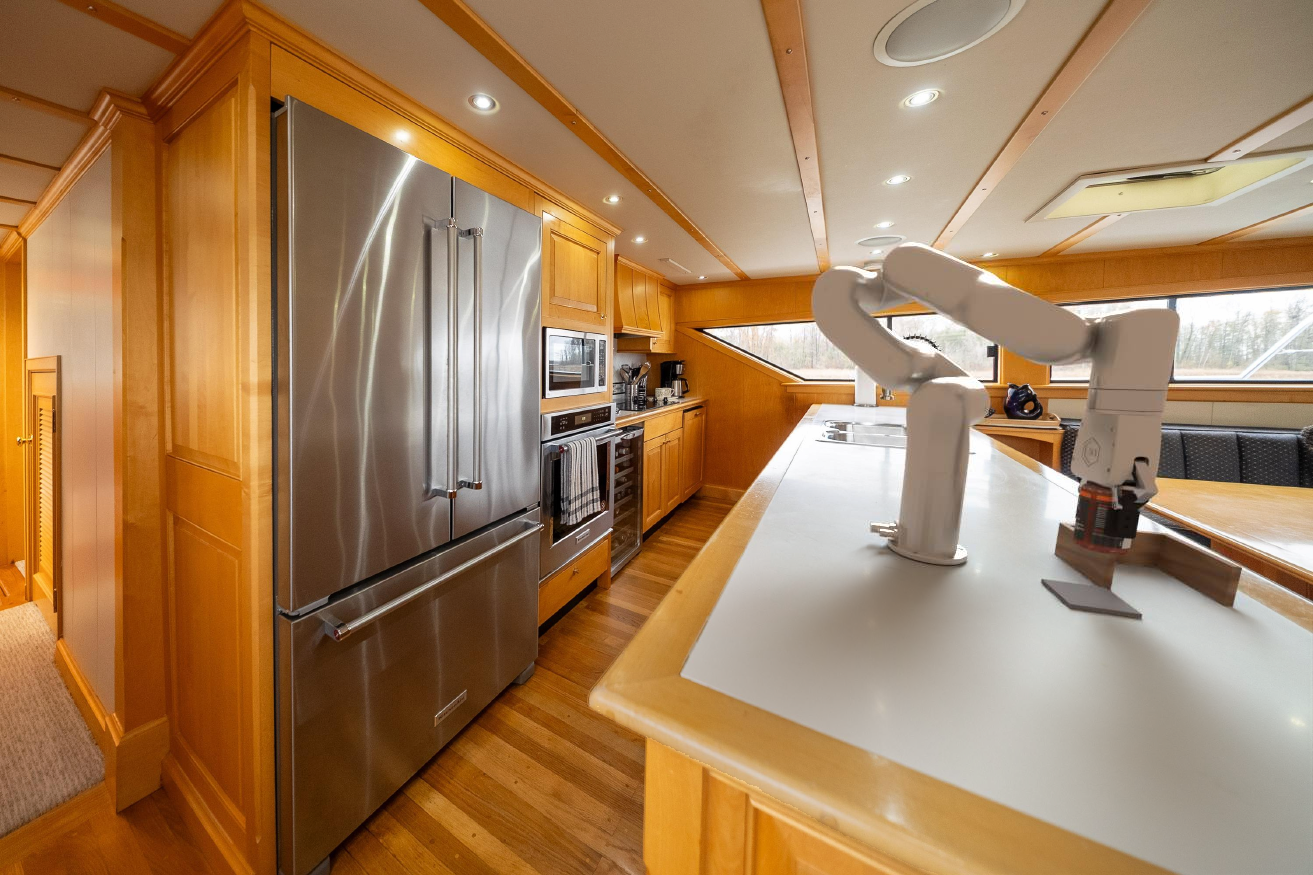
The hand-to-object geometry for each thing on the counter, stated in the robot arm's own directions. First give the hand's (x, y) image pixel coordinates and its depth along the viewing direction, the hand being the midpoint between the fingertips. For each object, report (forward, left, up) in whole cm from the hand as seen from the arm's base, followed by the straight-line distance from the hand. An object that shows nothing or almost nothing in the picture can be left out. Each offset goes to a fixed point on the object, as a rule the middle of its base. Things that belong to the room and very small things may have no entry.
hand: (1103, 527), depth 64 cm
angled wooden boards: (+11, +12, -11) cm, 20 cm away
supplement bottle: (0, 0, -3) cm, 3 cm away
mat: (0, 0, -11) cm, 11 cm away
